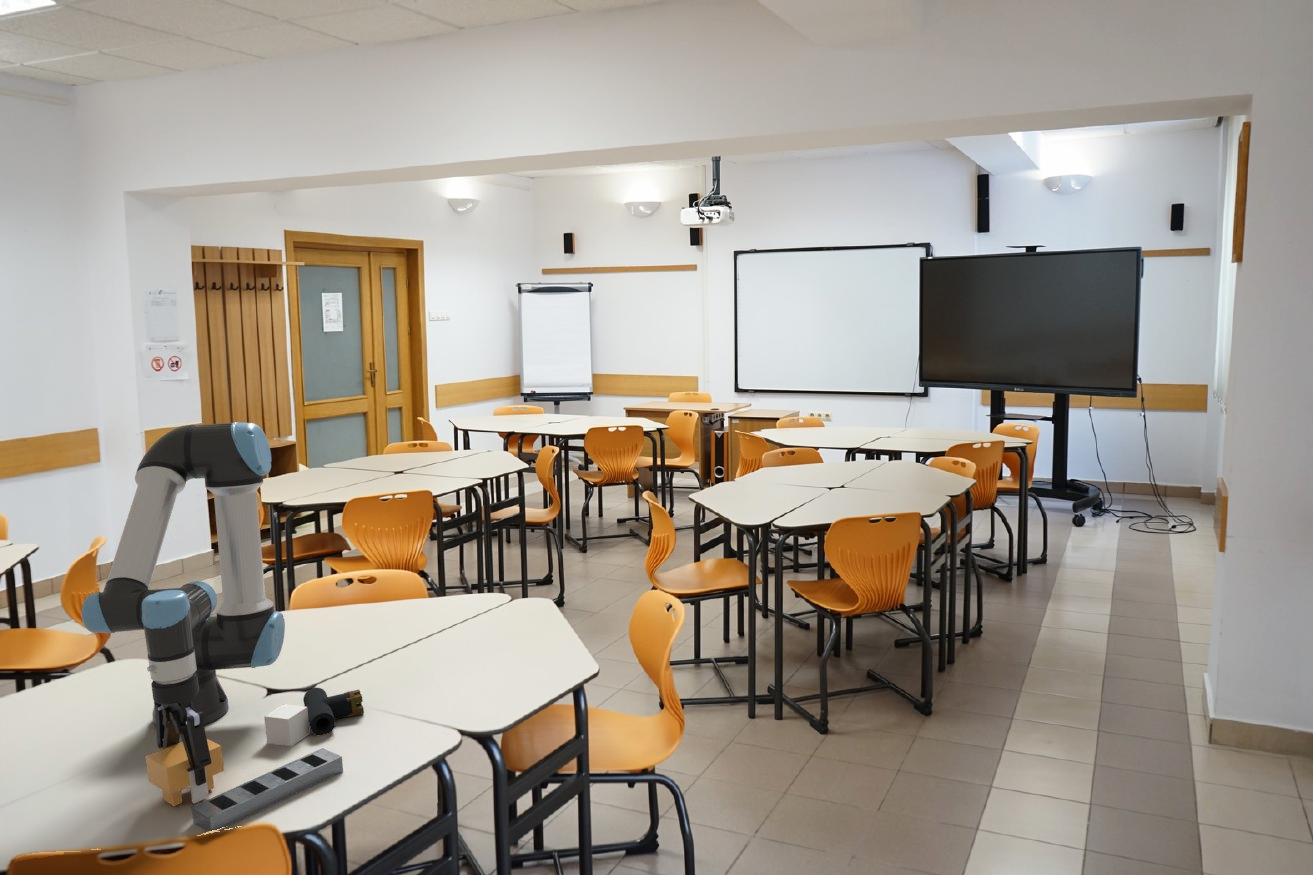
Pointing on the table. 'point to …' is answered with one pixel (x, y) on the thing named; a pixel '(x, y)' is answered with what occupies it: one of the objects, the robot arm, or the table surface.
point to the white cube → (287, 725)
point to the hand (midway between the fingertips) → (188, 792)
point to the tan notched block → (179, 770)
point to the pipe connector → (330, 708)
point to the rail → (266, 790)
